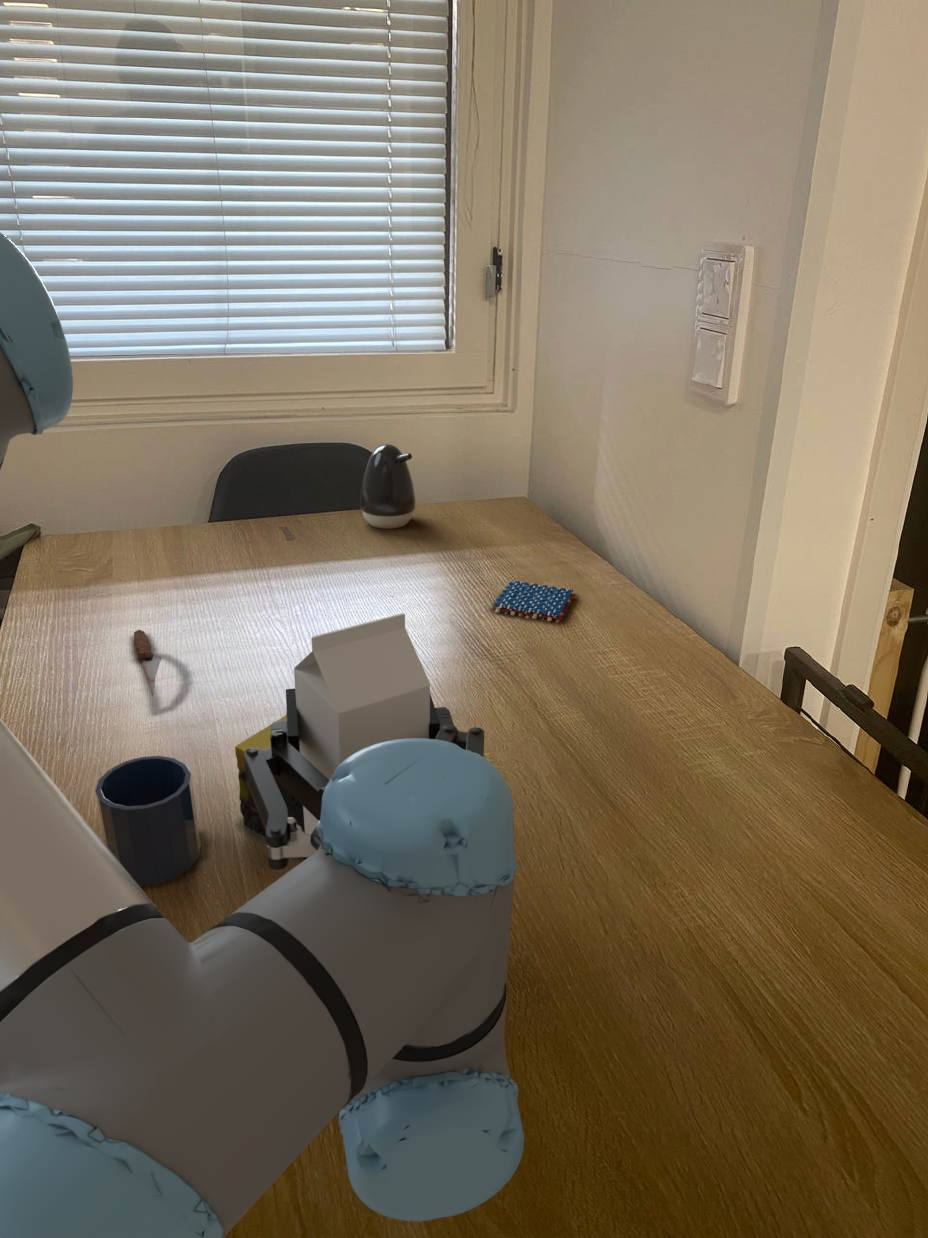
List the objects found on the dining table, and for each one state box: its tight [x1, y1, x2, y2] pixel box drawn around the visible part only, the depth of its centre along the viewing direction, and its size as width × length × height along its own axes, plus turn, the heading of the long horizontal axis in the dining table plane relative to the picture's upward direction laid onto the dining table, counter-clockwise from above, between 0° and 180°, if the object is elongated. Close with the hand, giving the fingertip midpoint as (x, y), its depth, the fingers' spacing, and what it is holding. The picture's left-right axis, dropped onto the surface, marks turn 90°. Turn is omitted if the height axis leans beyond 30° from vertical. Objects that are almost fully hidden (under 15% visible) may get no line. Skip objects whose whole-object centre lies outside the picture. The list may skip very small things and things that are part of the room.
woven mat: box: [492, 580, 576, 623], centre depth 137 cm, size 10×11×2 cm
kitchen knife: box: [133, 629, 162, 697], centre depth 116 cm, size 21×2×5 cm
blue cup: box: [94, 755, 201, 887], centre depth 83 cm, size 8×8×9 cm
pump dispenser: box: [359, 443, 417, 530], centre depth 165 cm, size 10×10×15 cm
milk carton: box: [293, 612, 431, 834], centre depth 66 cm, size 7×7×19 cm
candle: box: [234, 714, 308, 860], centre depth 88 cm, size 10×10×10 cm
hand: (357, 699), depth 70 cm, fingers closed on milk carton, 9 cm apart
